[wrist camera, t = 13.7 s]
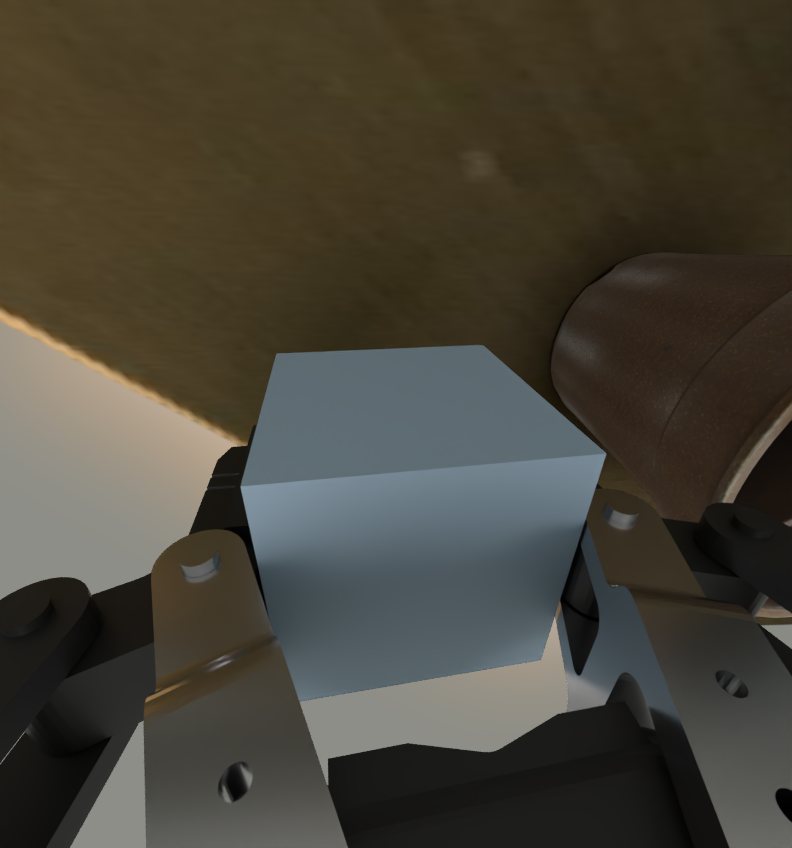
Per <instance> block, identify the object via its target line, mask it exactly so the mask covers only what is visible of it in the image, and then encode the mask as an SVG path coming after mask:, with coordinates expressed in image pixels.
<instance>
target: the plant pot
mask: <svg viewBox="0 0 792 848" xmlns="http://www.w3.org/2000/svg"><path fill="white" fill-rule="evenodd" d="M551 376H552V381H553V385H554V388H555V389H556V391H557V393H558V394H559V396H560V398H561V400H562V402H563V403H564V404H565V406H566V407H567V408H568V409H569V410H570V411H571V412H572V413H573V414H574V415H575V416H576V417H577V418H578V419H579V420H580V421H581V422H582V423H583V424H584V426H585V427H586V428H587V429H588V430H589V431H590V432H591V433H592V434H593V435H594V436H595V437H596V438H597V439H598V440H599V442H600V443H601V444H602V445H603V446H604V447H605V448H606V449H607V450H608V451H609V452H610V453H611V454H612V455H613V456H614V458H615V459H616V460H617V461H618V462H619V463H620V464H621V465H622V466H623V467H624V468H625V470H626V471H627V472H628V473H629V474H630V475H631V476H632V477H633V478H634V479H635V480H636V481H637V482H638V483H639V485H640V486H641V487H642V488H643V489H644V490H645V491H646V492H647V493H648V494H649V495H650V496H651V497H652V498H653V500H654V501H655V502H656V504H657V507H658V510H659V512H660V514H661V516H662V518H664V519H673V520H681V521H689V522H697V523H699V521H700V519H701V517H702V515H703V513H704V511H705V509H706V508H707V506H709V505H711V504H714V503H720V502H725V503H735V504H739V505H744V506H747V507H750V508H753V509H756V510H759V511H761V512H763V513H765V514H767V515H769V516H771V517H773V518H775V519H777V520H779V521H781V522H782V523H784V524H786V525H788V526H790V527H791V528H792V255H738V254H696V253H672V252H662V253H650V254H644V255H639V256H636V257H633V258H630V259H627V260H625V261H623V262H621V263H619V264H617V265H616V266H615V267H614V268H613V269H612V271H611V272H609V273H608V274H606V275H605V276H604V277H602V278H601V279H599V280H598V281H596V282H595V283H593V284H591V285H589V286H588V287H586V288H585V289H584V291H583V292H582V293H581V294H580V295H579V296H578V298H577V299H576V300H575V302H574V303H573V305H572V306H571V307H570V309H569V310H568V312H567V314H566V316H565V318H564V320H563V322H562V324H561V326H560V329H559V331H558V334H557V337H556V340H555V342H554V347H553V352H552V359H551ZM756 616H761V617H773V618H777V617H792V613H790V612H789V611H787V610H786V609H785V608H783V607H782V606H780V605H779V604H777V603H776V602H775V601H773V600H772V599H770V598H768V599H767V600H766V602H765V603H764V605H763V606H762V608H761V609H760V611H759V612H758V613H757V615H756Z"/></svg>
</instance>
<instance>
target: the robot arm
mask: <svg viewBox="0 0 792 848" xmlns="http://www.w3.org/2000/svg"><path fill="white" fill-rule="evenodd" d="M256 427H257V425H254V426H253V428H252V432H251V435H250V438H249V442H248V445H247V446H240V447H231V448H230V449H229V450H228V451H227V452H226V453H225V454H224V455H223V456H222V457H221V458H220V459H218V461H217V463H216V466H215V468H214V471H213V474H212V478H211V479H210V482H209V484H208V487H207V490H206V492H205V494H204V497H203V499H202V502H201V505H200V507H199V510H198V512H197V515H196V517H195V520H194V523H193V525H192V528H191V531H190V533H189V535H188V536H186V537H184V538H182V539H180V540H178V541H177V542H175V543H173V544H172V545H171V546H169V547H168V548H167V549H166V550H165V551H164V552H163V553H162V554H161V555H160V556H159V558H158V559H157V560H156V562H155V564H154V566H153V569H152V572H151V573H150V574H148V575H146V576H144V577H141V578H139V579H136V580H134V581H131V582H128V583H125V584H123V585H119V586H116V587H114V588H111V589H108V590H105V591H102V592H100V593H96V594H93V595H91V593H90V591H89V589H88V588H87V586H86V585H85V584H84V583H83V582H81V581H80V580H78V579H75V578H68V577H60V578H52V579H47V580H43V581H39V582H36V583H33V584H30V585H28V586H26V587H23V588H21V589H19V590H17V591H15V592H13V593H11V594H9V595H8V596H6V597H4V598H3V599H1V600H0V763H1V761H2V760H3V759H4V757H5V756H6V754H7V753H8V752H9V751H10V749H11V748H12V747H13V745H14V744H15V743H16V742H17V740H18V739H19V738H20V736H21V735H22V734H23V732H24V731H25V733H24V734H23V735H22V737H21V738H20V739H19V741H18V742H17V743H16V745H15V746H14V747H13V749H12V750H11V751H10V753H9V754H8V755H7V757H6V758H5V759H4V761H3V762H2V763H1V764H0V848H70V846H71V845H72V843H73V841H74V839H75V837H76V836H77V834H78V832H79V830H80V828H81V827H82V825H83V823H84V821H85V819H86V817H87V815H88V813H89V812H90V810H91V808H92V807H93V805H94V803H95V801H96V799H97V798H98V796H99V794H100V792H101V790H102V789H103V787H104V785H105V783H106V782H107V780H108V778H109V776H110V774H111V772H112V771H113V769H114V767H115V765H116V763H117V762H118V760H119V758H120V756H121V754H122V753H123V751H124V749H125V747H126V745H127V744H128V742H129V740H130V738H131V736H132V734H133V733H134V731H135V729H136V727H137V726H138V723H139V722H141V721H143V720H144V769H145V814H146V848H792V649H791V648H789V647H788V646H787V645H785V644H784V643H783V642H782V641H780V640H779V639H778V638H776V637H775V636H774V635H772V634H771V633H770V632H768V631H767V630H766V629H765V628H763V627H762V626H761V625H759V624H758V623H757V622H756V621H755V620H754V618H755V616H756V615H757V613H758V612H759V611H760V609H761V608H762V606H763V605H764V603H765V602H766V600H767V599H768V598H770V599H772V600H773V601H775V602H776V603H777V604H779V605H780V606H782V607H783V608H785V609H786V610H787V611H789V612H790V613H792V528H791V527H790V526H788V525H786V524H784V523H782V522H781V521H779V520H777V519H775V518H773V517H771V516H769V515H767V514H765V513H763V512H761V511H759V510H756V509H753V508H750V507H747V506H744V505H739V504H735V503H725V502H720V503H714V504H711V505H709V506H707V508H706V509H705V511H704V513H703V515H702V517H701V519H700V521H699V523H697V522H689V521H681V520H673V519H664V518H661V517H660V515H659V514H658V513H657V511H656V510H655V509H654V508H653V507H651V506H650V505H649V504H648V503H646V502H645V501H643V500H641V499H639V498H638V497H636V496H633V495H631V494H628V493H625V492H622V491H618V490H613V489H602V488H601V487H600V486H599V485H598V484H597V485H596V488H595V491H594V494H593V498H592V501H591V504H590V507H589V510H588V513H587V516H586V520H585V523H584V526H583V529H582V532H581V535H580V538H579V542H578V545H577V548H576V551H575V554H574V557H573V560H572V564H571V567H570V570H569V573H568V576H567V579H566V583H565V586H564V589H563V592H562V595H561V598H560V601H559V605H558V608H557V611H556V614H555V618H556V623H557V629H558V635H559V640H560V646H561V651H562V657H563V662H564V669H565V674H566V680H567V687H568V704H567V712H566V713H561V714H557V715H556V716H554V717H552V718H551V719H549V720H547V721H546V722H544V723H542V724H541V725H539V726H538V727H536V728H534V729H533V730H531V731H529V732H528V733H526V734H524V735H523V736H521V737H519V738H518V739H516V740H514V741H513V742H511V743H509V744H508V745H506V746H504V747H503V748H501V749H499V750H497V751H494V752H477V751H468V750H460V749H452V748H442V747H434V746H426V745H417V744H409V743H407V744H402V745H397V746H392V747H387V748H381V749H376V750H371V751H366V752H361V753H356V754H350V755H346V756H340V757H335V758H330V759H328V783H329V785H327V783H326V780H325V777H324V774H323V771H322V768H321V765H320V762H319V759H318V756H317V753H316V750H315V747H314V744H313V741H312V738H311V735H310V732H309V729H308V726H307V723H306V720H305V717H304V714H303V711H302V708H301V705H300V702H299V699H298V696H297V693H296V690H295V687H294V684H293V681H292V678H291V675H290V672H289V669H288V666H287V663H286V660H285V657H284V654H283V651H282V648H281V645H280V642H279V640H278V638H277V636H275V635H274V633H273V630H272V627H271V624H270V619H269V615H268V610H267V606H266V601H265V596H264V592H263V587H262V583H261V578H260V574H259V569H258V565H257V560H256V555H255V551H254V546H253V542H252V537H251V533H250V528H249V524H248V519H247V514H246V510H245V505H244V501H243V496H242V492H241V487H240V486H241V482H242V479H243V475H244V471H245V468H246V464H247V460H248V457H249V453H250V449H251V445H252V442H253V438H254V434H255V431H256Z"/></svg>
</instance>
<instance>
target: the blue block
mask: <svg viewBox="0 0 792 848" xmlns="http://www.w3.org/2000/svg"><path fill="white" fill-rule="evenodd" d="M605 457H606V453H605V452H604V451H603V450H602V449H601V448H600V447H598V446H597V445H596V444H595V443H594V442H593V441H592V440H590V439H589V438H588V437H587V436H586V435H585V434H584V433H583V432H581V431H580V430H579V429H578V428H577V427H576V426H575V425H573V424H572V423H571V422H570V421H569V420H568V419H567V418H565V417H564V416H563V415H562V414H561V413H560V412H559V411H557V410H556V409H555V408H554V407H553V406H552V405H551V404H549V403H548V402H547V401H546V400H545V399H544V398H543V397H542V396H540V395H539V394H538V393H537V392H536V391H535V390H534V389H532V388H531V387H530V386H529V385H528V384H527V383H526V382H524V381H523V380H522V379H521V378H520V377H519V376H518V375H516V374H515V373H514V372H513V371H512V370H511V369H510V368H508V367H507V366H506V365H505V364H504V363H503V362H502V361H500V360H499V359H498V358H497V357H496V356H495V355H494V354H493V353H491V352H490V351H489V350H488V349H487V348H486V347H485V346H483V345H468V346H445V347H421V348H397V349H374V350H350V351H326V352H303V353H279V354H276V357H275V361H274V364H273V368H272V372H271V375H270V379H269V383H268V387H267V390H266V394H265V398H264V401H263V405H262V409H261V412H260V416H259V420H258V423H257V427H256V431H255V434H254V438H253V442H252V445H251V449H250V453H249V457H248V460H247V464H246V468H245V471H244V475H243V479H242V482H241V486H240V487H241V492H242V496H243V501H244V505H245V510H246V514H247V519H248V524H249V528H250V533H251V537H252V542H253V546H254V551H255V555H256V560H257V565H258V569H259V574H260V578H261V583H262V587H263V592H264V596H265V601H266V606H267V610H268V615H269V619H270V624H271V627H272V630H273V633H274V635H275V636H277V638H278V640H279V642H280V645H281V648H282V651H283V654H284V657H285V660H286V663H287V666H288V669H289V672H290V675H291V678H292V681H293V684H294V687H295V690H296V693H297V696H298V699H299V702H300V701H305V700H311V699H317V698H323V697H329V696H335V695H340V694H346V693H352V692H358V691H364V690H369V689H375V688H381V687H387V686H393V685H398V684H404V683H410V682H416V681H422V680H428V679H434V678H439V677H445V676H451V675H456V674H462V673H469V672H474V671H480V670H486V669H492V668H497V667H503V666H509V665H515V664H521V663H527V662H532V661H538V660H541V657H542V655H543V652H544V649H545V645H546V642H547V639H548V636H549V633H550V630H551V627H552V623H553V620H554V617H555V614H556V611H557V608H558V605H559V601H560V598H561V595H562V592H563V589H564V586H565V583H566V579H567V576H568V573H569V570H570V567H571V564H572V560H573V557H574V554H575V551H576V548H577V545H578V542H579V538H580V535H581V532H582V529H583V526H584V523H585V520H586V516H587V513H588V510H589V507H590V504H591V501H592V498H593V494H594V491H595V488H596V485H597V482H598V479H599V476H600V472H601V469H602V466H603V463H604V460H605Z"/></svg>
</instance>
